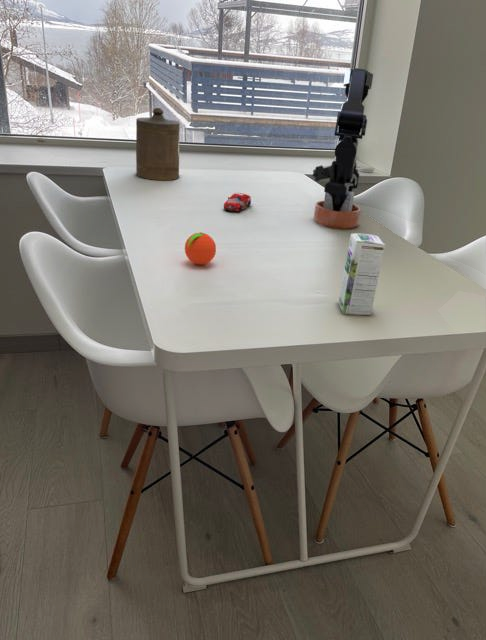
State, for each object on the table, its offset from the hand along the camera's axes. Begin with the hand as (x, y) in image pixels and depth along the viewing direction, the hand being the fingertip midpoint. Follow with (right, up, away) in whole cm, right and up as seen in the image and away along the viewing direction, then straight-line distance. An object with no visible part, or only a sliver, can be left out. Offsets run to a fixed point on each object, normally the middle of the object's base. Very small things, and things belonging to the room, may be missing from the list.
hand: (337, 213), depth 172 cm
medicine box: (0, -2, +1) cm, 2 cm away
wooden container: (-60, +23, +35) cm, 73 cm away
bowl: (0, -3, +1) cm, 3 cm away
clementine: (-36, -24, -42) cm, 60 cm away
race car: (-30, +3, +6) cm, 31 cm away
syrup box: (-3, -36, -56) cm, 66 cm away
